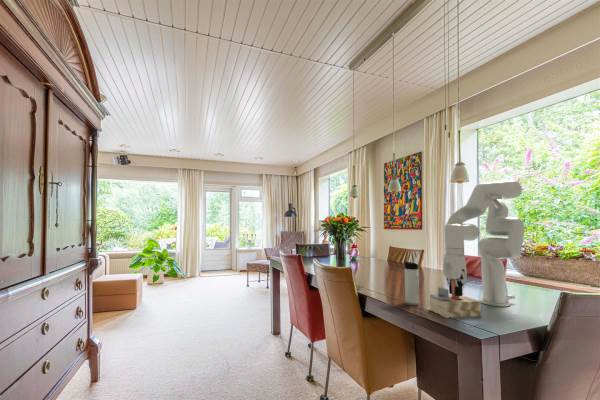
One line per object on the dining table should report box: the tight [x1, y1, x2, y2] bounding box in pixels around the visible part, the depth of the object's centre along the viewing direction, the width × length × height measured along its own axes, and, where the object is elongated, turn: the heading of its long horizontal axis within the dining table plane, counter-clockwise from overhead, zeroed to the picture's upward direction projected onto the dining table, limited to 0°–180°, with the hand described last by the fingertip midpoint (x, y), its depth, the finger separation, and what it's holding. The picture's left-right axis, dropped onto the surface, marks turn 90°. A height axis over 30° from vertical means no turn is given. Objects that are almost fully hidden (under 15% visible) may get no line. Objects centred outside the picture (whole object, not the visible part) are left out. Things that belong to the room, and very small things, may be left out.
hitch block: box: [429, 294, 482, 319], centre depth 128 cm, size 16×11×6 cm
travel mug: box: [403, 261, 420, 306], centre depth 143 cm, size 6×7×20 cm
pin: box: [451, 279, 460, 300], centre depth 129 cm, size 5×5×12 cm
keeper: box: [429, 287, 450, 301], centre depth 128 cm, size 5×6×4 cm
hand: (455, 294), depth 128 cm, fingers closed on pin, 3 cm apart
